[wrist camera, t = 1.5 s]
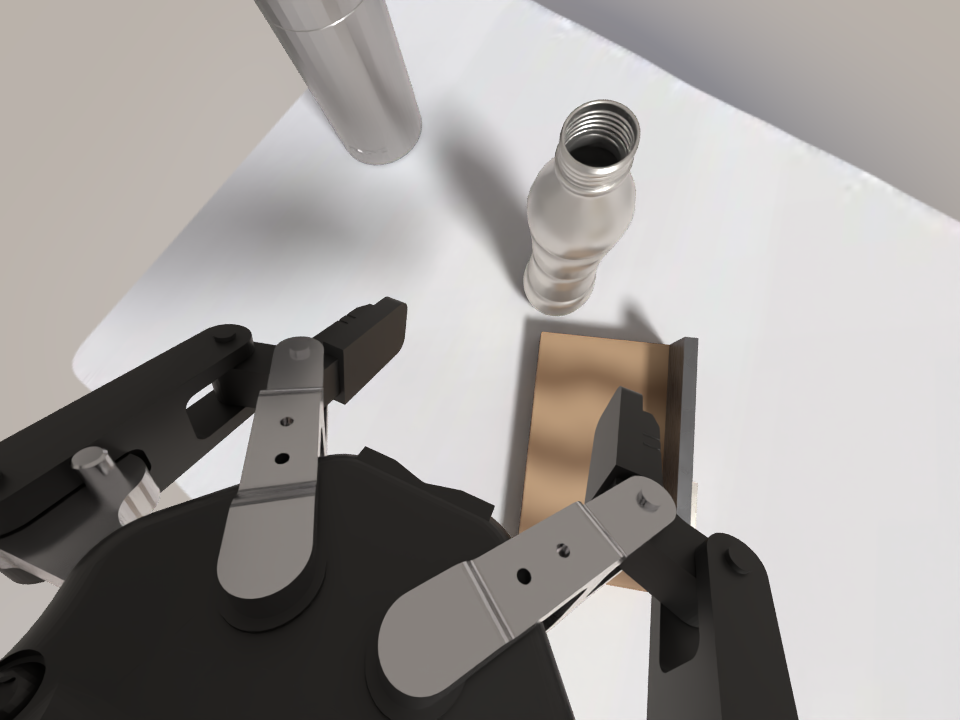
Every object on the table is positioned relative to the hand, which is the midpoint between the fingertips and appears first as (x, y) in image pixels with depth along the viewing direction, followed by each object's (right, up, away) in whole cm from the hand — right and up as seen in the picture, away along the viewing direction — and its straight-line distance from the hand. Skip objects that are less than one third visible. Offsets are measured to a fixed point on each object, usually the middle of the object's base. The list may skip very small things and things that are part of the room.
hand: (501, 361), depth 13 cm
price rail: (+15, -8, +17) cm, 24 cm away
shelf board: (+10, -8, +20) cm, 24 cm away
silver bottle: (+7, +7, +23) cm, 25 cm away
